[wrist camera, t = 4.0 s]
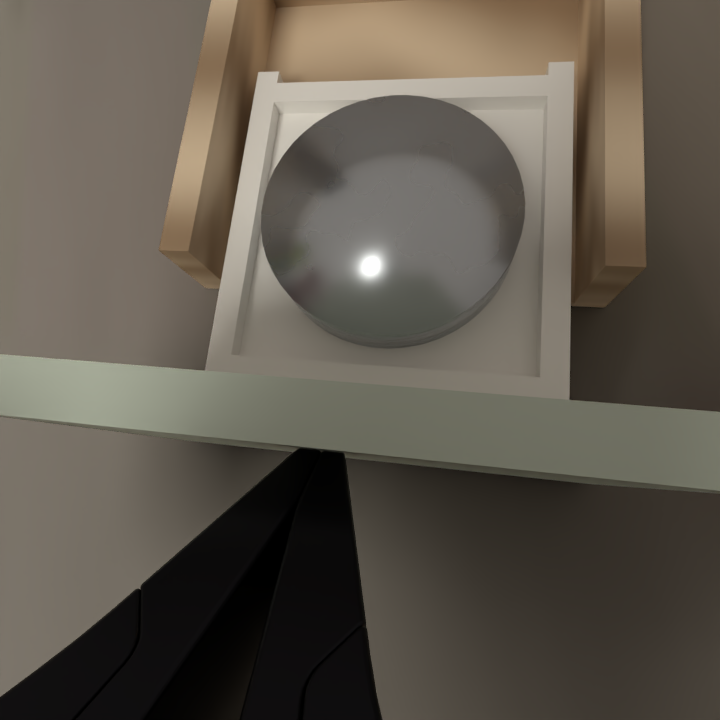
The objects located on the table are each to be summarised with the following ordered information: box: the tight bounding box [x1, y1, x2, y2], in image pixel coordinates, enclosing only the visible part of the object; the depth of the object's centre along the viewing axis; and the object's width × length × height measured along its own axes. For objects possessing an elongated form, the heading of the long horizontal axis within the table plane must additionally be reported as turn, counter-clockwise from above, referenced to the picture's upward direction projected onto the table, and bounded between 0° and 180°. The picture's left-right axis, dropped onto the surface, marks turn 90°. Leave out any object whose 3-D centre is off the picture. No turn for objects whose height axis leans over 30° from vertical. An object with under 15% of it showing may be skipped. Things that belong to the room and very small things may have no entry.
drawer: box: [0, 61, 720, 494], centre depth 13 cm, size 14×13×9 cm
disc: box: [261, 95, 525, 349], centre depth 15 cm, size 8×8×2 cm
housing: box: [159, 0, 646, 308], centre depth 17 cm, size 14×14×3 cm
